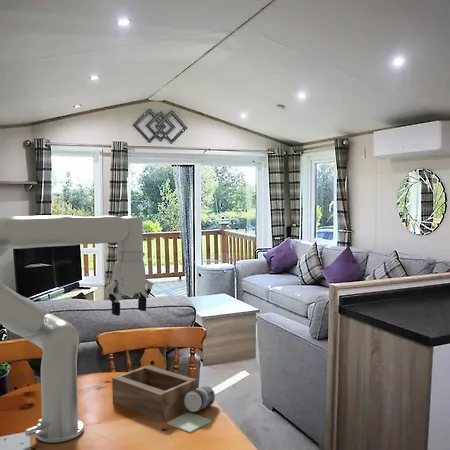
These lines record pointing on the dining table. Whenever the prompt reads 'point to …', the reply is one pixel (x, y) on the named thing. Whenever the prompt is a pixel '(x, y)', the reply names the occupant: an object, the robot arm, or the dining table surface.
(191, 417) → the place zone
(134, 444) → the dining table surface
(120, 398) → the box
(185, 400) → the beverage can
